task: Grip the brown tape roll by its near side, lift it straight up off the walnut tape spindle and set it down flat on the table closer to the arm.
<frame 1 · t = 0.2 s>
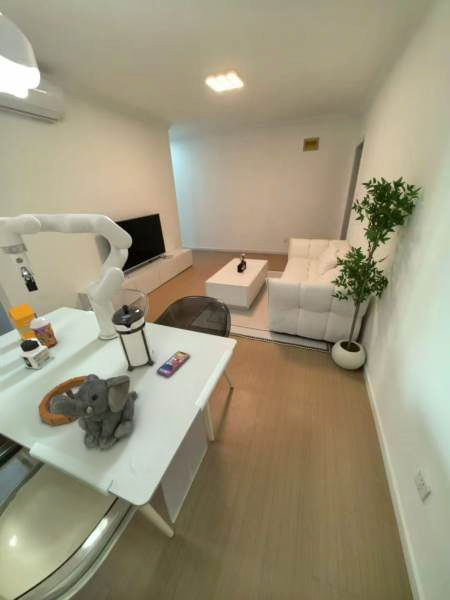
hand: (32, 287, 100), 37 cm above the table, tool pointing down, fingers open, 9 cm apart
spindle: (73, 400, 89), on the table
smoothie: (50, 345, 124), on the table
stuffed elephant: (113, 425, 79), on the table
orange juice: (33, 336, 133), on the table
container: (40, 363, 111), on the table
coffee press: (139, 359, 109), on the table
tape: (73, 400, 89), on the table
smartphone: (174, 364, 104), on the table
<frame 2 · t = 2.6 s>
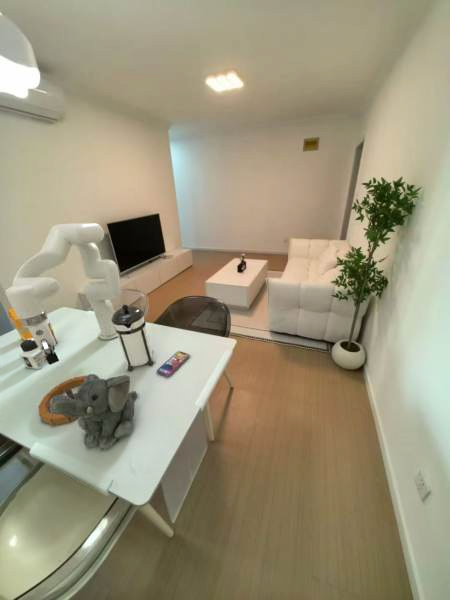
hand: (52, 356, 88), 16 cm above the table, tool pointing down, fingers open, 9 cm apart
nothing on the table moved.
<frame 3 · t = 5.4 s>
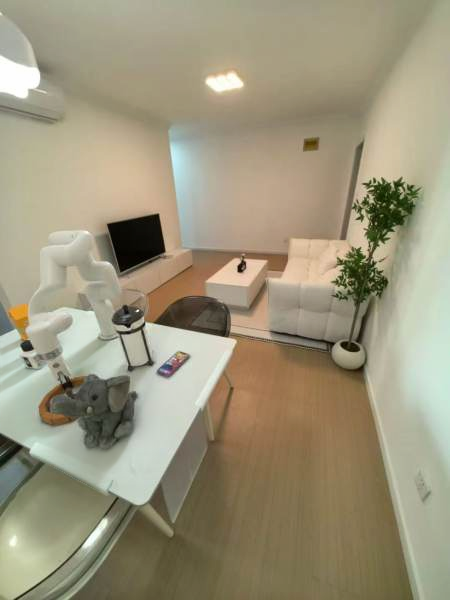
hand: (67, 386, 95), 1 cm above the table, tool pointing down, fingers closed on tape, 2 cm apart
tape: (73, 400, 89), on the table, touching gripper
everything else where it was.
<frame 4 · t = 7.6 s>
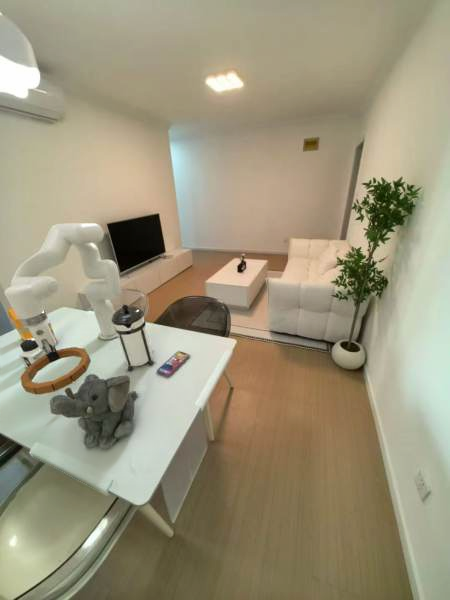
hand: (54, 358, 89), 16 cm above the table, tool pointing down, fingers closed on tape
tape: (59, 371, 83), point 15 cm above the table, touching gripper
everything else where it was.
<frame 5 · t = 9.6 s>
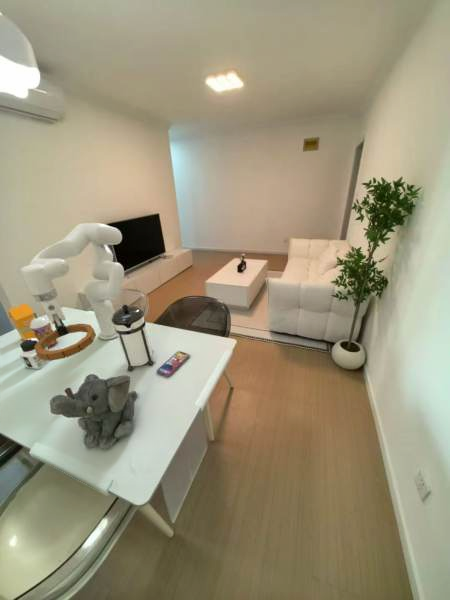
hand: (63, 333, 99), 19 cm above the table, tool pointing down, fingers closed on tape
tape: (68, 343, 93), point 18 cm above the table, touching gripper
everything else where it was.
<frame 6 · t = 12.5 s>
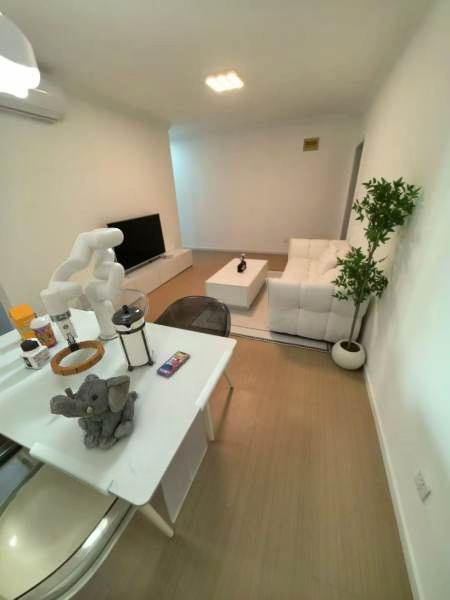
hand: (74, 349, 107), 7 cm above the table, tool pointing down, fingers closed on tape
tape: (79, 359, 101), point 6 cm above the table, touching gripper
everything else where it was.
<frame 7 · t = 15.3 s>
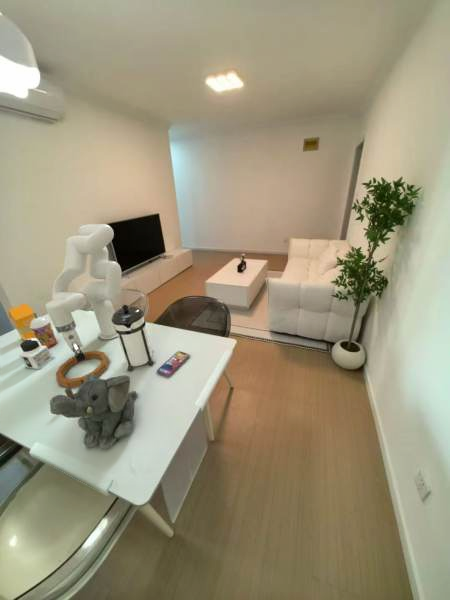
hand: (79, 355, 110), 3 cm above the table, tool pointing down, fingers open, 9 cm apart
tape: (84, 370, 104), on the table
everything else where it was.
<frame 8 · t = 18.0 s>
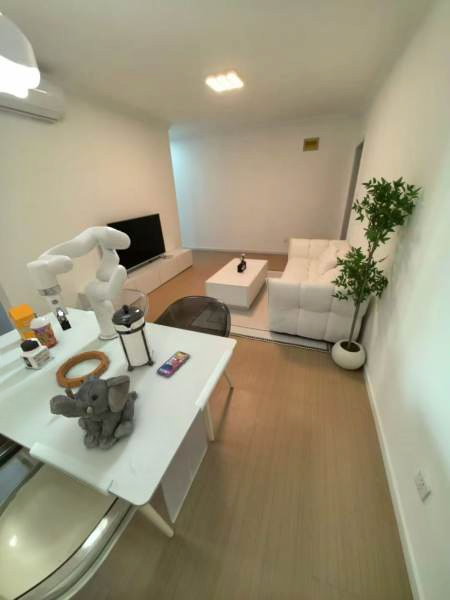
hand: (65, 325, 102), 20 cm above the table, tool pointing down, fingers open, 9 cm apart
nothing on the table moved.
at the end: tape inside the target area (0.4 cm from its centre), on the table; the gripper is holding nothing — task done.
